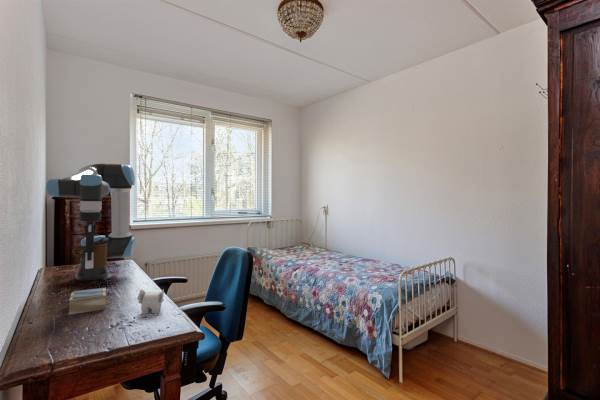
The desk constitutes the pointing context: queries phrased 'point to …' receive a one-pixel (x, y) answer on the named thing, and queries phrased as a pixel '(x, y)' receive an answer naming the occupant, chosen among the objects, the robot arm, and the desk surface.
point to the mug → (99, 254)
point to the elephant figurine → (150, 301)
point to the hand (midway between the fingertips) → (89, 266)
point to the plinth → (87, 300)
